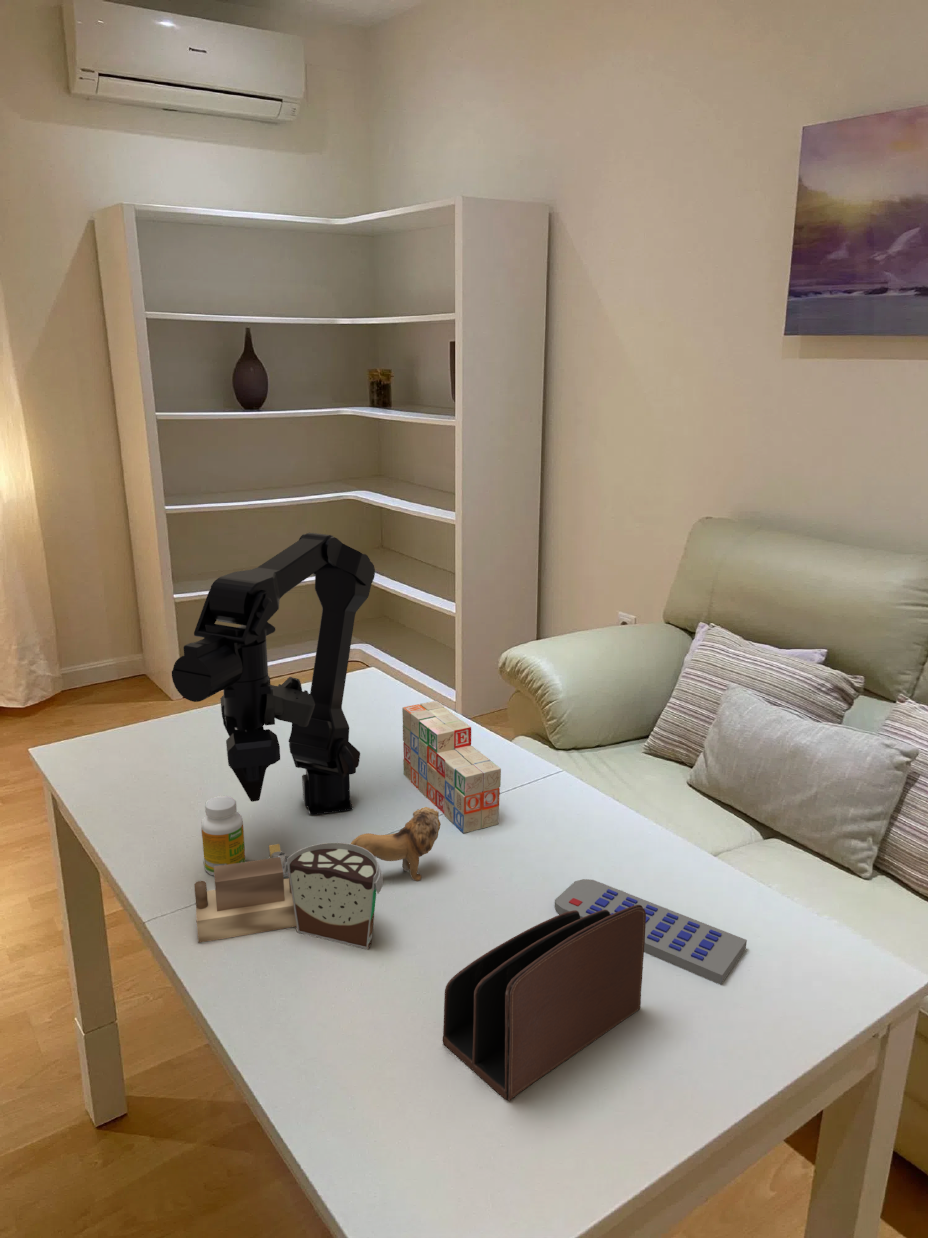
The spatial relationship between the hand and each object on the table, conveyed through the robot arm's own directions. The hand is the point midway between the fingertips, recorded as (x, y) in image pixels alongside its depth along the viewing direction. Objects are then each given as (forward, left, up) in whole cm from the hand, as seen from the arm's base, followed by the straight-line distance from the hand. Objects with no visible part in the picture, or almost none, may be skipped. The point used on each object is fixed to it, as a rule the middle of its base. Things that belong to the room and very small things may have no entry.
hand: (252, 784), depth 121 cm
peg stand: (+2, +13, -12) cm, 17 cm away
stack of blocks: (-30, -11, -12) cm, 35 cm away
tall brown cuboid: (+2, +12, -9) cm, 15 cm away
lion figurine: (-17, +8, -12) cm, 22 cm away
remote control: (-45, +28, -13) cm, 54 cm away
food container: (-9, +17, -12) cm, 23 cm away
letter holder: (-26, +40, -12) cm, 49 cm away
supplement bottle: (+4, 0, -12) cm, 13 cm away
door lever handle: (-3, +3, -12) cm, 13 cm away
